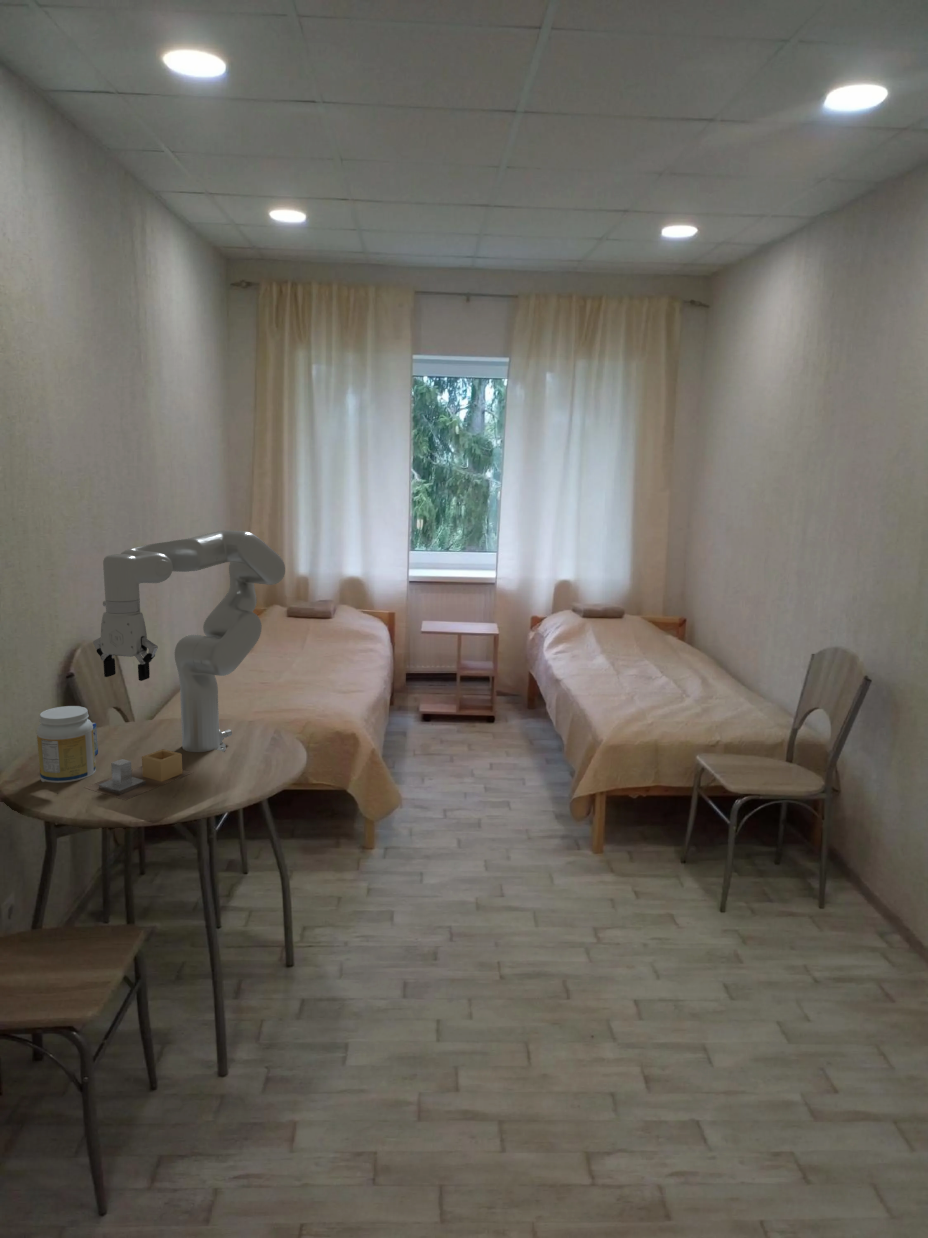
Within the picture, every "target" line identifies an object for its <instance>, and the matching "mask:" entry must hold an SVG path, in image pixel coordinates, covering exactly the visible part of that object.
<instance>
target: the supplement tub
mask: <svg viewBox="0 0 928 1238" xmlns="http://www.w3.org/2000/svg"><path fill="white" fill-rule="evenodd" d="M89 716H90V715H89V713H88V708H87V707H83V706H80V705H66V706H57V707H53V708H48V709H46V710H43V711H42V712H40V714H39V723H40V724H39V725H38V726H37V730H36V739H37V754H38V764H39V766H38V767H39V774H40V775H39V777H40V778H39V779H40V780H41V782H42V783H45V782H47V783H59V784H60V783H71V782H75V781H76V782H77V781H80V780H83V779H86V778H89V777H91V776H93V775H94V774H95V773H96V772H97V769H96V755H95V751H94V736H93V724H92V723H93V722H92V721H91V720H90V719H89Z"/></svg>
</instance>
